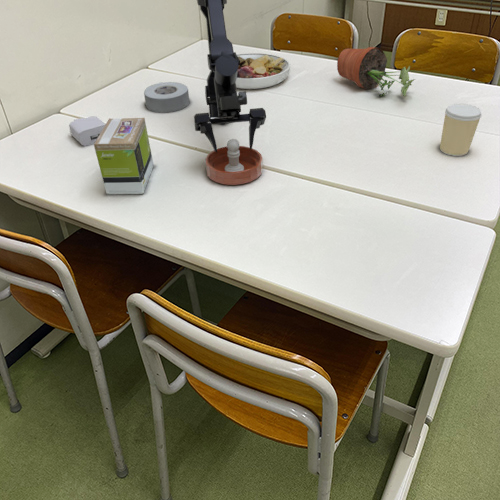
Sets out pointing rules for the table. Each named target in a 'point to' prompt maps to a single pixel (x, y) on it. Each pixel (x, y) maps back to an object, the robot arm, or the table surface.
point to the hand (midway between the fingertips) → (233, 150)
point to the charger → (86, 129)
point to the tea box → (124, 156)
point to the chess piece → (233, 157)
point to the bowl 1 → (251, 171)
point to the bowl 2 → (261, 70)
